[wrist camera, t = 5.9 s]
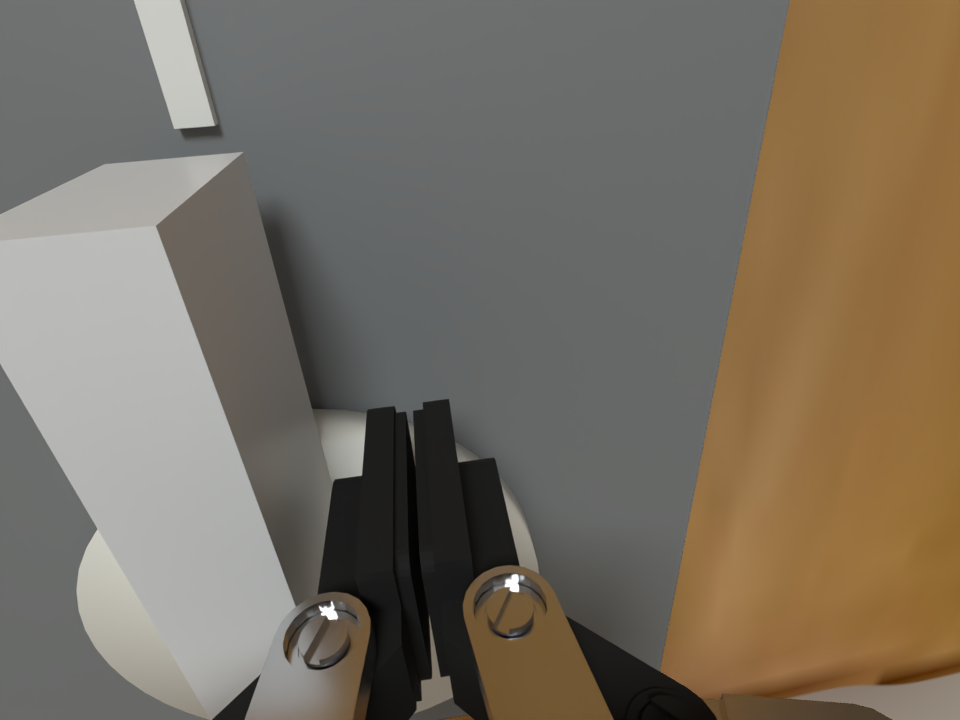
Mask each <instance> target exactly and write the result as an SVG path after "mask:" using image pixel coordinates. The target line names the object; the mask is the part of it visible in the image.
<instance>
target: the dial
mask: <svg viewBox="0 0 960 720" xmlns="http://www.w3.org/2000/svg"><path fill="white" fill-rule="evenodd" d="M0 364H1V366H2V368H3V369H4V371H5V373H6V375H7V376H8V378H9V380H10V381H11V383H12V385H13V386H14V388H15V390H16V392H17V393H18V395H19V397H20V398H21V400H22V402H23V403H24V405H25V407H26V408H27V410H28V412H29V414H30V415H31V417H32V419H33V420H34V422H35V424H36V425H37V427H38V429H39V430H40V432H41V434H42V436H43V437H44V439H45V441H46V442H47V444H48V446H49V447H50V449H51V451H52V453H53V454H54V456H55V458H56V459H57V461H58V463H59V464H60V466H61V468H62V469H63V471H64V473H65V475H66V476H67V478H68V480H69V481H70V483H71V485H72V486H73V488H74V490H75V491H76V493H77V495H78V497H79V498H80V500H81V502H82V503H83V505H84V507H85V508H86V510H87V512H88V514H89V515H90V517H91V519H92V520H93V522H94V524H95V525H96V527H97V531H96V532H95V534H94V536H93V537H92V539H91V541H90V543H89V544H88V546H87V548H86V550H85V553H84V556H83V559H82V562H81V564H80V567H79V572H78V580H77V589H76V592H77V601H78V610H79V613H80V616H81V619H82V622H83V625H84V628H85V631H86V632H87V634H88V636H89V638H90V639H91V641H92V643H93V645H94V646H95V648H96V649H97V651H98V652H99V653H100V654H101V655H102V657H103V658H104V659H105V660H106V661H107V663H108V664H109V665H110V666H111V667H112V668H113V669H115V670H116V671H117V672H118V673H119V674H120V675H121V676H122V677H124V678H125V679H126V680H127V681H129V682H130V683H132V684H133V685H134V686H136V687H137V688H139V689H140V690H142V691H143V692H145V693H146V694H148V695H150V696H152V697H154V698H156V699H158V700H160V701H161V702H163V703H165V704H167V705H170V706H172V707H175V708H177V709H179V710H182V711H184V712H187V713H189V714H192V715H196V716H199V717H202V718H205V719H209V720H212V719H213V718H214V717H215V716H216V715H217V714H218V713H220V712H221V711H222V710H223V709H224V708H225V707H226V706H227V705H228V704H229V703H230V702H231V701H232V700H233V699H234V698H236V697H237V696H238V695H239V694H240V693H241V692H242V691H243V690H244V689H245V688H246V687H247V686H248V685H249V684H250V683H252V682H253V681H254V680H255V679H256V678H257V677H258V676H259V675H260V674H261V672H262V669H263V666H264V664H265V661H266V658H267V655H268V652H269V649H270V647H271V644H272V641H273V638H274V635H275V633H276V631H277V630H278V628H279V626H280V624H281V622H282V620H283V619H284V618H285V617H286V616H287V615H288V614H289V613H290V611H291V610H292V609H293V608H295V607H296V606H298V605H299V604H300V603H302V602H303V601H305V600H307V599H309V598H311V597H314V596H316V595H317V594H318V587H319V579H320V572H321V565H322V558H323V550H324V543H325V536H326V529H327V521H328V514H329V507H330V500H331V492H332V486H333V482H334V480H335V479H341V478H348V477H356V476H362V469H363V455H364V442H365V429H366V416H367V413H365V412H358V411H351V410H335V409H312V407H311V403H310V400H309V396H308V392H307V388H306V385H305V381H304V377H303V373H302V370H301V366H300V362H299V358H298V355H297V351H296V347H295V343H294V340H293V336H292V332H291V328H290V325H289V321H288V317H287V313H286V310H285V306H284V302H283V298H282V295H281V291H280V287H279V283H278V280H277V276H276V272H275V268H274V265H273V261H272V257H271V253H270V249H269V246H268V242H267V238H266V234H265V231H264V227H263V223H262V219H261V216H260V212H259V208H258V204H257V201H256V197H255V193H254V189H253V186H252V182H251V178H250V174H249V171H248V167H247V163H246V159H245V156H244V152H237V153H226V154H215V155H203V156H192V157H180V158H169V159H157V160H146V161H135V162H123V163H112V164H104V165H102V166H100V167H98V168H96V169H93V170H91V171H89V172H87V173H85V174H83V175H81V176H79V177H77V178H75V179H73V180H71V181H68V182H66V183H64V184H62V185H60V186H58V187H56V188H54V189H52V190H50V191H48V192H46V193H44V194H41V195H39V196H37V197H35V198H33V199H31V200H29V201H27V202H25V203H23V204H21V205H19V206H17V207H14V208H12V209H10V210H8V211H6V212H4V213H2V214H0ZM408 425H409V431H410V437H411V443H412V449H413V455H414V461H415V445H414V424H413V423H410V422H408ZM455 445H456V452H457V459H458V462H465V461H472V460H479V459H481V458H479V457H478V456H476V455H475V454H474V453H472V452H471V451H469V450H468V449H466V448H465V447H464V446H462V445H460V444H458V443H456V442H455ZM499 477H500V476H499ZM500 482H501V486H502V490H503V495H504V499H505V503H506V508H507V512H508V517H509V521H510V525H511V530H512V534H513V538H514V543H515V547H516V552H517V556H518V560H519V565H520V566H521V567H525V568H527V569H530V570H532V571H535V572H537V573H538V574H539V570H538V562H537V558H536V554H535V551H534V547H533V543H532V539H531V535H530V532H529V528H528V525H527V522H526V519H525V515H524V512H523V510H522V508H521V506H520V504H519V503H518V501H517V499H516V497H515V495H514V493H513V492H512V491H511V489H510V488H509V487H508V486H507V484H506V483H505V482H504V480H503V479H502V478H501V477H500ZM429 624H430V642H431V660H432V679H429V680H423V681H421V690H422V701H418V702H417V710H416V711H415V713H417V712H420V711H423V710H425V709H428V708H431V707H433V706H435V705H437V704H440V703H442V702H444V701H446V700H448V699H450V698H452V697H453V693H452V687H451V681H450V676H446V677H441V676H440V671H439V666H438V660H437V655H436V650H435V644H434V639H433V633H432V628H431V622H430V617H429Z"/></svg>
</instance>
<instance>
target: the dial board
mask: <svg viewBox="0 0 960 720" xmlns="http://www.w3.org/2000/svg"><path fill="white" fill-rule="evenodd" d="M788 5H789V0H0V214H2V213H4V212H6V211H8V210H10V209H12V208H14V207H17V206H19V205H21V204H23V203H25V202H27V201H29V200H31V199H33V198H35V197H37V196H39V195H41V194H44V193H46V192H48V191H50V190H52V189H54V188H56V187H58V186H60V185H62V184H64V183H66V182H68V181H71V180H73V179H75V178H77V177H79V176H81V175H83V174H85V173H87V172H89V171H91V170H93V169H96V168H98V167H100V166H102V165H104V164H112V163H123V162H135V161H146V160H157V159H169V158H180V157H192V156H203V155H215V154H226V153H237V152H244V156H245V159H246V163H247V167H248V171H249V174H250V178H251V182H252V186H253V189H254V193H255V197H256V201H257V204H258V208H259V212H260V216H261V219H262V223H263V227H264V231H265V234H266V238H267V242H268V246H269V249H270V253H271V257H272V261H273V265H274V268H275V272H276V276H277V280H278V283H279V287H280V291H281V295H282V298H283V302H284V306H285V310H286V313H287V317H288V321H289V325H290V328H291V332H292V336H293V340H294V343H295V347H296V351H297V355H298V358H299V362H300V366H301V370H302V373H303V377H304V381H305V385H306V388H307V392H308V396H309V400H310V403H311V407H312V409H335V410H351V411H358V412H365V413H367V410H368V409H374V408H382V407H390V406H395V409H396V413H399V412H406V414H407V419H408V422H410V423H413V424H414V422H413V411H414V410H421V409H423V402H428V401H436V400H443V399H449V402H450V409H451V416H452V423H453V430H454V437H455V442H456V443H458V444H460V445H462V446H464V447H465V448H466V449H468V450H469V451H471V452H472V453H474V454H475V455H476V456H478V457H479V458H481V459H486V458H495V460H496V464H497V468H498V473H499V476H500V477H501V478H502V479H503V480H504V482H505V483H506V484H507V486H508V487H509V488H510V489H511V491H512V492H513V493H514V495H515V497H516V499H517V501H518V503H519V504H520V506H521V508H522V510H523V512H524V515H525V519H526V522H527V525H528V528H529V532H530V535H531V539H532V543H533V547H534V551H535V554H536V558H537V562H538V570H539V575H540V576H542V577H543V578H544V579H546V580H547V582H548V583H549V585H550V586H551V588H552V589H553V591H554V592H555V594H556V597H557V599H558V601H559V603H560V605H561V607H562V610H563V612H564V614H565V615H566V616H567V617H569V618H571V619H573V620H574V621H576V622H578V623H579V624H581V625H583V626H584V627H586V628H588V629H589V630H591V631H593V632H594V633H596V634H598V635H599V636H601V637H603V638H604V639H606V640H608V641H609V642H611V643H613V644H614V645H616V646H618V647H619V648H621V649H623V650H624V651H626V652H628V653H629V654H631V655H633V656H634V657H636V658H638V659H639V660H641V661H643V662H645V663H646V664H648V665H650V666H651V667H653V668H655V669H656V670H658V671H660V667H661V662H662V656H663V651H664V646H665V641H666V636H667V631H668V625H669V620H670V615H671V610H672V605H673V600H674V594H675V589H676V584H677V579H678V574H679V569H680V563H681V558H682V553H683V548H684V543H685V538H686V532H687V527H688V522H689V517H690V512H691V507H692V501H693V496H694V491H695V486H696V481H697V476H698V470H699V465H700V460H701V455H702V450H703V445H704V439H705V434H706V429H707V424H708V419H709V414H710V408H711V403H712V398H713V393H714V388H715V383H716V377H717V372H718V367H719V362H720V357H721V352H722V346H723V341H724V336H725V331H726V326H727V320H728V315H729V310H730V305H731V300H732V295H733V289H734V284H735V279H736V274H737V269H738V264H739V258H740V253H741V248H742V243H743V238H744V233H745V227H746V222H747V217H748V212H749V207H750V202H751V196H752V191H753V186H754V181H755V176H756V171H757V165H758V160H759V155H760V150H761V145H762V140H763V134H764V129H765V124H766V119H767V114H768V109H769V103H770V98H771V93H772V88H773V83H774V78H775V72H776V67H777V62H778V57H779V52H780V47H781V41H782V36H783V31H784V26H785V21H786V16H787V10H788ZM96 531H97V527H96V525H95V524H94V522H93V520H92V519H91V517H90V515H89V514H88V512H87V510H86V508H85V507H84V505H83V503H82V502H81V500H80V498H79V497H78V495H77V493H76V491H75V490H74V488H73V486H72V485H71V483H70V481H69V480H68V478H67V476H66V475H65V473H64V471H63V469H62V468H61V466H60V464H59V463H58V461H57V459H56V458H55V456H54V454H53V453H52V451H51V449H50V447H49V446H48V444H47V442H46V441H45V439H44V437H43V436H42V434H41V432H40V430H39V429H38V427H37V425H36V424H35V422H34V420H33V419H32V417H31V415H30V414H29V412H28V410H27V408H26V407H25V405H24V403H23V402H22V400H21V398H20V397H19V395H18V393H17V392H16V390H15V388H14V386H13V385H12V383H11V381H10V380H9V378H8V376H7V375H6V373H5V371H4V369H3V368H2V366H1V364H0V720H209V719H205V718H202V717H199V716H196V715H192V714H189V713H187V712H184V711H182V710H179V709H177V708H175V707H172V706H170V705H167V704H165V703H163V702H161V701H160V700H158V699H156V698H154V697H152V696H150V695H148V694H146V693H145V692H143V691H142V690H140V689H139V688H137V687H136V686H134V685H133V684H132V683H130V682H129V681H127V680H126V679H125V678H124V677H122V676H121V675H120V674H119V673H118V672H117V671H116V670H115V669H113V668H112V667H111V666H110V665H109V664H108V663H107V661H106V660H105V659H104V658H103V657H102V655H101V654H100V653H99V652H98V651H97V649H96V648H95V646H94V645H93V643H92V641H91V639H90V638H89V636H88V634H87V632H86V631H85V628H84V625H83V622H82V619H81V616H80V613H79V610H78V601H77V592H76V589H77V580H78V572H79V567H80V564H81V562H82V559H83V556H84V553H85V550H86V548H87V546H88V544H89V543H90V541H91V539H92V537H93V536H94V534H95V532H96ZM465 715H468V714H467V713H466V712H464V711H463V710H462V709H461V708H459V707H458V706H457V705H456V704H454V699H453V697H452V698H450V699H448V700H446V701H444V702H442V703H440V704H437V705H435V706H433V707H431V708H428V709H425V710H423V711H420V712H417V713H414V714H413V715H412V716H411V718H410V719H409V720H441V719H447V718H453V717H459V716H465Z"/></svg>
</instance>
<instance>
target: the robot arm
mask: <svg viewBox="0 0 960 720" xmlns="http://www.w3.org/2000/svg"><path fill="white" fill-rule="evenodd" d="M413 422H414V445H415V461H414V455H413V449H412V443H411V437H410V431H409V425H408V419H407V414H406V412H399V413H396V409H395V406H390V407H382V408H374V409H368V410H367V416H366V429H365V442H364V455H363V469H362V476H356V477H348V478H341V479H335V480H334V482H333V486H332V492H331V500H330V507H329V514H328V521H327V529H326V536H325V543H324V550H323V558H322V565H321V572H320V579H319V587H318V594H317V595H316V596H314V597H311V598H309V599H307V600H305V601H303V602H302V603H300V604H299V605H298V606H296V607H295V608H293V609H292V610H291V611H290V613H289V614H288V615H287V616H286V617H285V618H284V619H283V620H282V622H281V624H280V626H279V628H278V630H277V631H276V633H275V635H274V638H273V641H272V644H271V647H270V649H269V652H268V655H267V658H266V661H265V664H264V666H263V669H262V672H261V674H260V675H259V676H258V677H257V678H256V679H255V680H254V681H253V682H252V683H250V684H249V685H248V686H247V687H246V688H245V689H244V690H243V691H242V692H241V693H240V694H239V695H238V696H237V697H236V698H234V699H233V700H232V701H231V702H230V703H229V704H228V705H227V706H226V707H225V708H224V709H223V710H222V711H221V712H220V713H218V714H217V715H216V716H215V717H214V718H213V719H212V720H409V719H410V718H411V716H412V715H413V714H414V713H415V711H416V710H417V702H418V701H422V690H421V681H423V680H429V679H432V660H431V642H430V624H429V617H430V622H431V628H432V633H433V639H434V644H435V650H436V655H437V660H438V666H439V671H440V676H441V677H446V676H450V681H451V687H452V693H453V699H454V704H456V705H457V706H458V707H459V708H461V709H462V710H463V711H464V712H466V713H467V714H468V715H469V716H471V717H472V718H473V719H475V720H892V719H890V718H888V717H886V716H885V715H883V714H881V713H879V712H877V711H876V710H874V709H872V708H867V707H864V706H860V705H856V704H848V703H835V702H823V701H810V700H797V699H784V698H771V697H758V696H745V695H732V694H722V697H721V700H714V699H701V698H700V697H698V696H697V695H696V694H694V693H693V692H692V691H691V690H689V689H688V688H686V687H685V686H683V685H681V684H680V683H678V682H676V681H675V680H673V679H671V678H670V677H668V676H666V675H665V674H663V673H661V672H660V671H658V670H656V669H655V668H653V667H651V666H650V665H648V664H646V663H645V662H643V661H641V660H639V659H638V658H636V657H634V656H633V655H631V654H629V653H628V652H626V651H624V650H623V649H621V648H619V647H618V646H616V645H614V644H613V643H611V642H609V641H608V640H606V639H604V638H603V637H601V636H599V635H598V634H596V633H594V632H593V631H591V630H589V629H588V628H586V627H584V626H583V625H581V624H579V623H578V622H576V621H574V620H573V619H571V618H569V617H567V616H566V615H565V614H564V612H563V610H562V607H561V605H560V603H559V601H558V599H557V597H556V594H555V592H554V591H553V589H552V588H551V586H550V585H549V583H548V582H547V580H546V579H544V578H543V577H542V576H540V575H539V574H538V573H537V572H535V571H532V570H530V569H527V568H525V567H521V566H520V565H519V560H518V556H517V552H516V547H515V543H514V538H513V534H512V530H511V525H510V521H509V517H508V512H507V508H506V503H505V499H504V495H503V490H502V486H501V482H500V477H499V473H498V468H497V464H496V460H495V458H486V459H479V460H472V461H465V462H458V459H457V452H456V445H455V437H454V430H453V423H452V416H451V409H450V402H449V399H443V400H436V401H428V402H423V409H421V410H414V411H413Z"/></svg>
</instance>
